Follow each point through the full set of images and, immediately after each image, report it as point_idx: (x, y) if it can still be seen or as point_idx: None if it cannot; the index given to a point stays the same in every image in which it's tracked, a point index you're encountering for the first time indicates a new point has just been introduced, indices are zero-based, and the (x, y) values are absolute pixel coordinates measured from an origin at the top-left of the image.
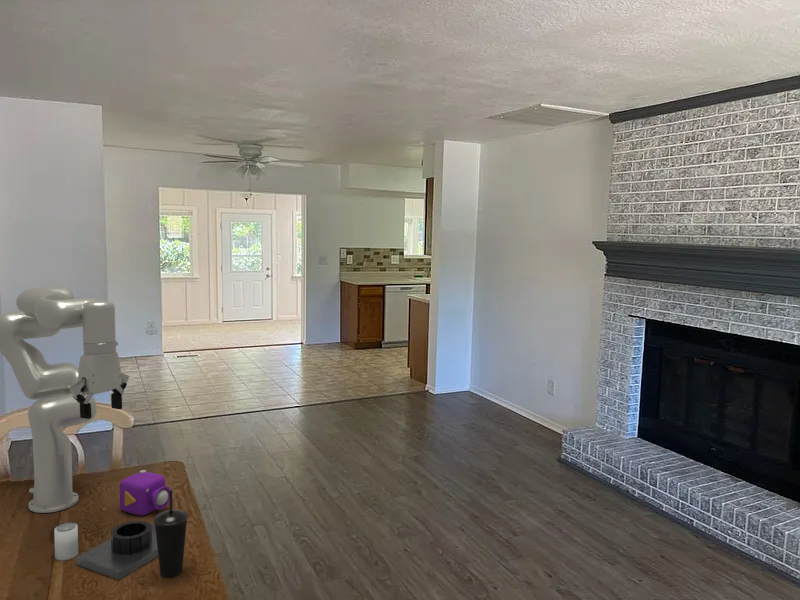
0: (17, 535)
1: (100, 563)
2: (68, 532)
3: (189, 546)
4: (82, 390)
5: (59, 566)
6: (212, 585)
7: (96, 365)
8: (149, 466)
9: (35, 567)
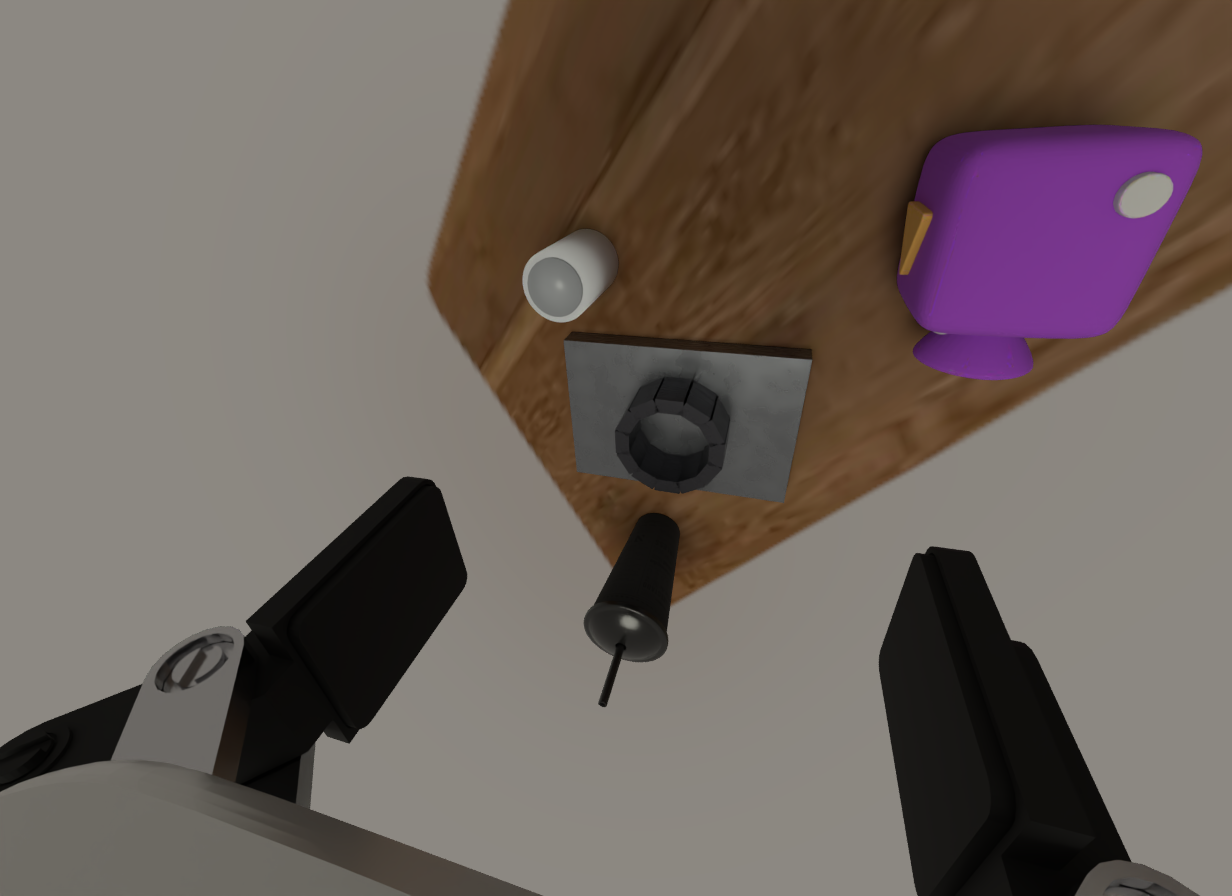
0: None
1: (577, 416)
2: (546, 317)
3: (766, 513)
4: (74, 839)
5: None
6: None
7: None
8: None
9: (507, 242)
